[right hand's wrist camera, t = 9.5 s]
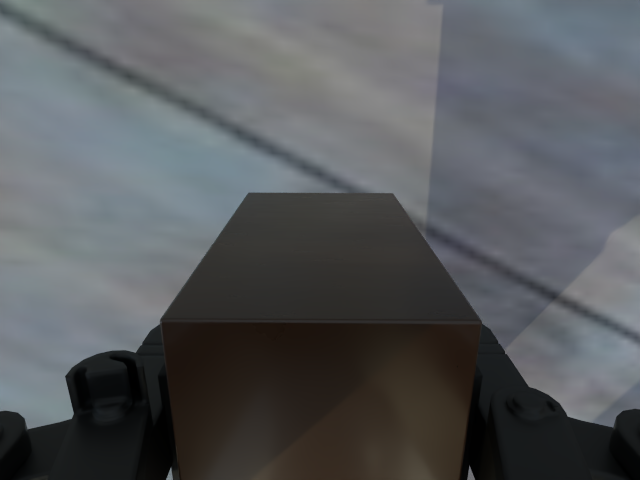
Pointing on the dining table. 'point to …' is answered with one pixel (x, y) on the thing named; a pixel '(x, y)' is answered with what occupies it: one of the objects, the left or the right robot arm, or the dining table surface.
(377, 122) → the dining table surface
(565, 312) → the dining table surface
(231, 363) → the walnut plank
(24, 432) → the right robot arm
